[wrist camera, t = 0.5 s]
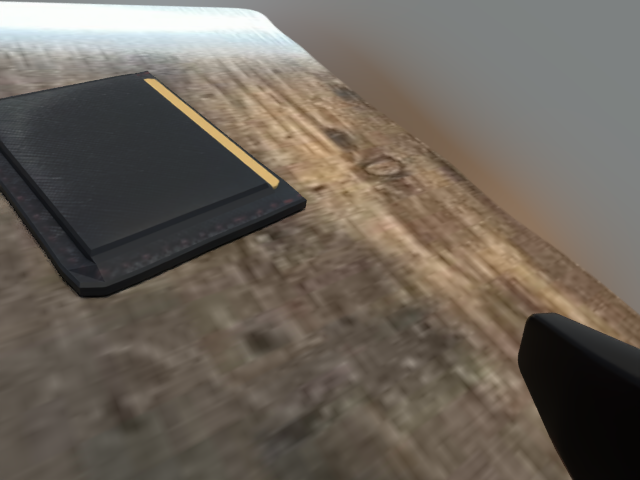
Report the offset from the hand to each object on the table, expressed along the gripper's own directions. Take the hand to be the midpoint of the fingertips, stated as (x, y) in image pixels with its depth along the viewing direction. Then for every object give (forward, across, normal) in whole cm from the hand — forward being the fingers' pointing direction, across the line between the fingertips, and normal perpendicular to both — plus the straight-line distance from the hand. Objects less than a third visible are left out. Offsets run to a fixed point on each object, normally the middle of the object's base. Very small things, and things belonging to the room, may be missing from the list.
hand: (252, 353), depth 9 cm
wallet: (+30, +6, +7) cm, 31 cm away
